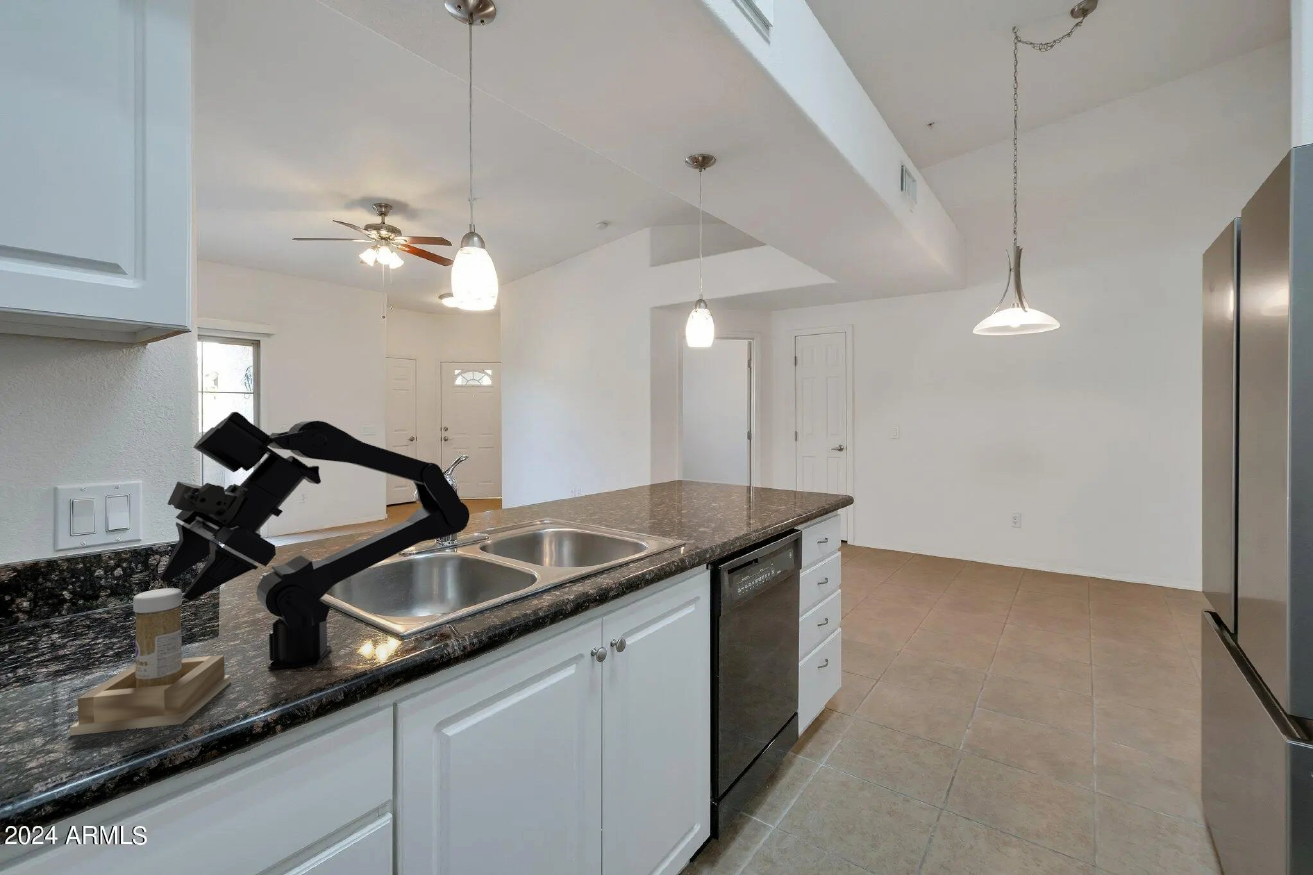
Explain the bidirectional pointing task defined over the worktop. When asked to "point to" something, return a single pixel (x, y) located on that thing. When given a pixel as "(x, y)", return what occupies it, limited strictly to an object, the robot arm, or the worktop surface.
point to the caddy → (150, 698)
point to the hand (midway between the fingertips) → (174, 589)
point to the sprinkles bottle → (158, 637)
